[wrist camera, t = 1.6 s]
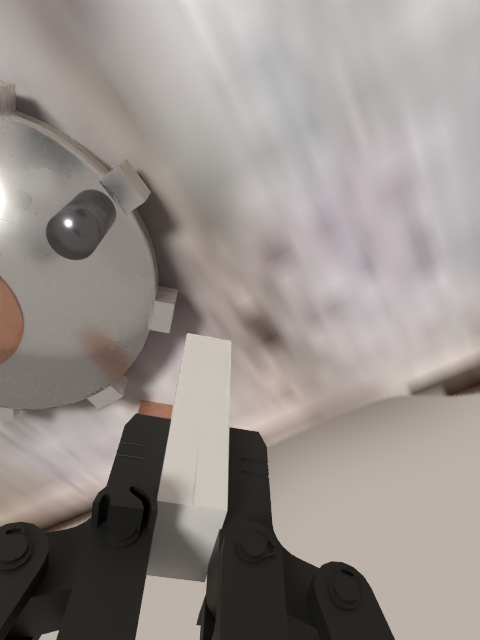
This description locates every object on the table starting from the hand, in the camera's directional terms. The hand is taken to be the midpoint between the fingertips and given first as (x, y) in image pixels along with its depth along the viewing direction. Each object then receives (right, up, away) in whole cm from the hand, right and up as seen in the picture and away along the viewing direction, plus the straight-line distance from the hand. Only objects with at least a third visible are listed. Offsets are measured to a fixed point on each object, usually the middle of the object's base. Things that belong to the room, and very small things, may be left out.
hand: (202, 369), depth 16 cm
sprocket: (-14, +5, +14) cm, 21 cm away
